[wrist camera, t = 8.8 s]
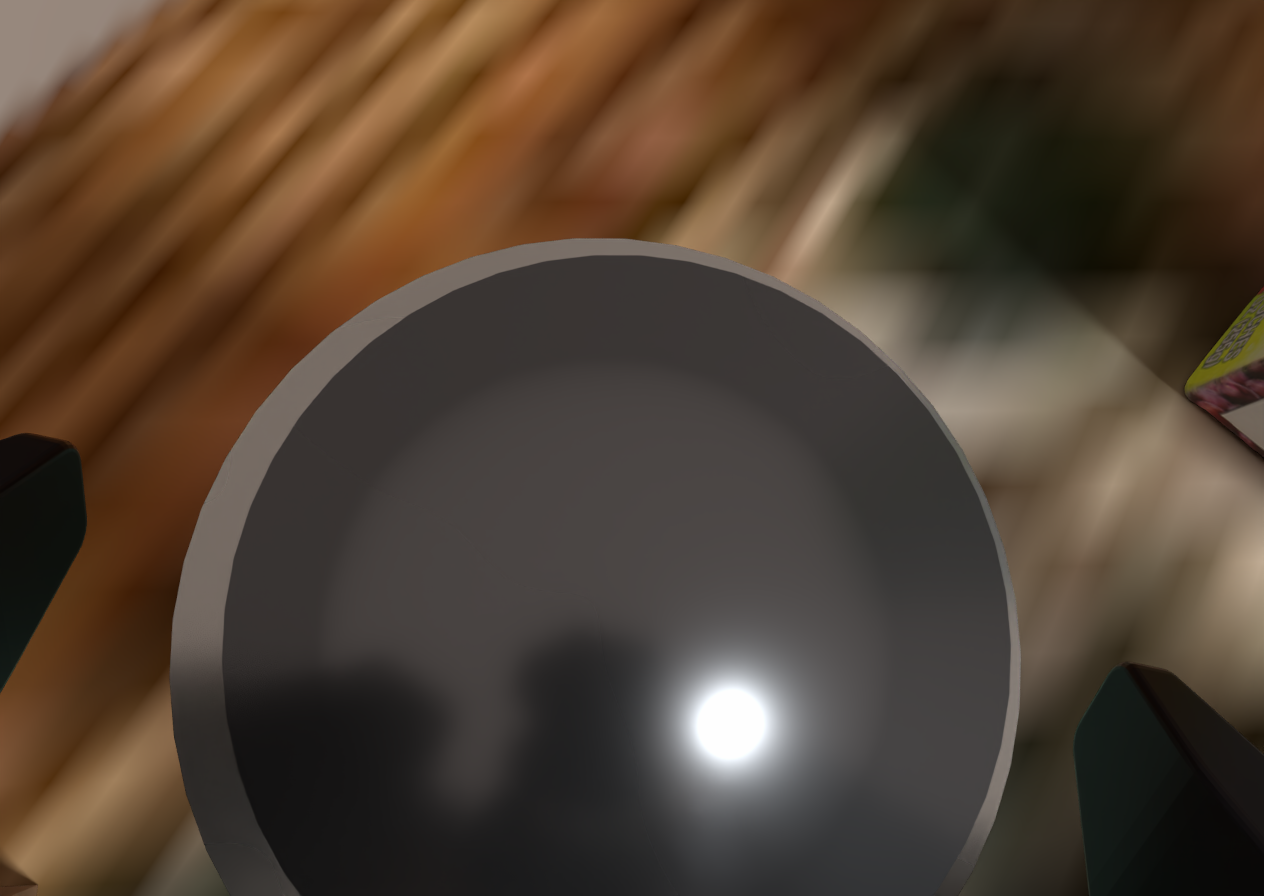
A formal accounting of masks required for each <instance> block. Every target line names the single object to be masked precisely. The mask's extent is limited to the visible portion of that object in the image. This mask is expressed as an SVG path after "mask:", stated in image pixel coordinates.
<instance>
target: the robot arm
mask: <svg viewBox="0 0 1264 896" xmlns="http://www.w3.org/2000/svg"><path fill="white" fill-rule="evenodd" d="M86 527H87V514H86V504H85V495H84V485H83V475H82V465H81V458H80V454H79V452H78V450H77V448H76V447H75V446H74V445H73V444H72V443H70V442H69V441H66V440H61V439H56V438H51V437H46V436H42V435H37V434H31V433H21V434H18V435H14V436H11V437H9V438H6V439H3V440H0V693H1V691H2V689H3V688H4V686H5V684H6V683H7V681H8V679H9V677H10V676H11V674H12V672H13V671H14V669H15V667H16V665H17V663H18V661H19V660H20V658H21V656H22V654H23V652H24V651H25V649H26V647H27V645H28V643H29V641H30V640H31V638H32V636H33V634H34V632H35V630H36V629H37V627H38V625H39V623H40V621H41V619H42V618H43V616H44V614H45V612H46V610H47V609H48V607H49V605H50V603H51V601H52V599H53V598H54V596H55V594H56V592H57V590H58V588H59V587H60V585H61V583H62V581H63V579H64V577H65V576H66V574H67V572H68V570H69V568H70V566H71V565H72V563H73V561H74V559H75V557H76V556H77V554H78V552H79V550H80V548H81V546H82V543H83V540H84V537H85V533H86ZM1073 756H1074V765H1075V774H1076V783H1077V792H1078V801H1079V810H1080V819H1081V828H1082V837H1083V846H1084V855H1085V864H1086V873H1087V882H1088V891H1089V896H1264V754H1263V753H1262V752H1261V751H1259V750H1258V749H1257V748H1256V747H1255V746H1254V745H1253V744H1252V743H1251V742H1249V741H1248V740H1247V739H1246V738H1245V737H1244V736H1243V735H1242V734H1240V733H1239V732H1238V731H1237V730H1236V729H1235V728H1234V727H1233V726H1232V725H1230V724H1229V723H1228V722H1227V721H1226V720H1225V719H1224V718H1223V717H1221V716H1220V715H1219V714H1218V713H1217V712H1216V711H1215V710H1214V709H1212V708H1211V707H1210V706H1209V705H1208V704H1207V703H1206V702H1205V701H1204V700H1202V699H1201V698H1200V697H1199V696H1198V695H1197V694H1196V693H1195V692H1193V691H1192V690H1191V689H1190V688H1189V687H1188V686H1187V685H1186V684H1185V683H1183V682H1182V681H1181V680H1180V679H1179V678H1178V677H1177V676H1176V675H1174V674H1173V673H1172V672H1170V671H1168V670H1165V669H1162V668H1157V667H1152V666H1148V665H1143V664H1138V663H1133V662H1122V663H1119V664H1117V665H1116V666H1115V667H1114V668H1112V670H1111V671H1110V672H1109V674H1108V675H1107V677H1106V679H1105V680H1104V682H1103V684H1102V685H1101V687H1100V689H1099V690H1098V692H1097V694H1096V695H1095V697H1094V699H1093V700H1092V702H1091V704H1090V705H1089V707H1088V709H1087V710H1086V712H1085V714H1084V715H1083V717H1082V719H1081V720H1080V722H1079V724H1078V726H1077V729H1076V732H1075V736H1074V743H1073Z"/></svg>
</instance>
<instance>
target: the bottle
mask: <svg viewBox="0 0 1264 896" xmlns="http://www.w3.org/2000/svg"><path fill="white" fill-rule="evenodd" d="M1020 670H1021V650H1020V640H1019V630H1018V619H1017V609H1016V599H1015V595H1014V590H1013V586H1012V581H1011V577H1010V573H1009V568H1008V564H1007V559H1006V555H1005V550H1004V546H1003V543H1002V541H1001V538H1000V535H999V532H998V529H997V527H996V524H995V521H994V518H993V515H992V513H991V510H990V507H989V504H988V501H987V499H986V496H985V494H984V492H983V490H982V488H981V486H980V484H979V482H978V480H977V478H976V476H975V474H974V472H973V470H972V468H971V466H970V464H969V462H968V460H967V458H966V456H965V454H964V452H963V450H962V449H961V447H960V446H959V444H958V443H957V441H956V440H955V438H954V437H953V435H952V434H951V432H950V431H949V429H948V428H947V426H946V425H945V423H944V422H943V420H942V419H941V417H940V416H939V414H938V413H937V411H936V410H935V408H934V407H933V405H932V404H931V403H930V402H929V400H928V399H927V398H926V397H925V396H924V395H923V393H922V392H921V391H920V390H919V389H918V388H917V387H916V385H915V384H914V383H913V382H912V381H911V380H910V378H909V377H908V376H907V375H906V374H905V373H904V371H903V370H902V369H901V368H900V367H899V366H898V365H897V364H896V363H895V362H894V361H893V360H892V359H891V358H890V357H889V356H887V355H886V354H885V353H884V352H883V351H882V350H881V349H880V348H879V347H878V346H876V345H875V344H874V343H873V342H872V341H871V340H870V339H869V338H868V337H867V336H865V335H864V334H863V333H862V332H861V331H860V330H858V329H857V328H856V327H854V326H853V325H851V324H850V323H849V322H847V321H846V320H844V319H843V318H842V317H840V316H839V315H837V314H836V313H834V312H833V311H832V310H830V309H829V308H827V307H826V306H825V305H823V304H822V303H820V302H819V301H817V300H815V299H814V298H812V297H810V296H808V295H806V294H804V293H803V292H801V291H799V290H797V289H795V288H793V287H791V286H790V285H788V284H786V283H784V282H782V281H780V280H778V279H777V278H775V277H773V276H770V275H768V274H765V273H763V272H760V271H757V270H755V269H752V268H750V267H747V266H745V265H742V264H740V263H737V262H734V261H732V260H729V259H727V258H724V257H720V256H716V255H712V254H708V253H704V252H700V251H696V250H692V249H688V248H684V247H681V246H677V245H670V244H662V243H654V242H646V241H638V240H631V239H566V240H557V241H549V242H540V243H532V244H524V245H519V246H515V247H511V248H507V249H503V250H499V251H495V252H491V253H487V254H482V255H478V256H474V257H471V258H468V259H466V260H463V261H460V262H458V263H455V264H453V265H450V266H447V267H445V268H442V269H440V270H437V271H434V272H432V273H429V274H427V275H424V276H422V277H420V278H418V279H416V280H414V281H412V282H410V283H409V284H407V285H405V286H403V287H401V288H399V289H397V290H395V291H394V292H392V293H390V294H388V295H386V296H384V297H382V298H381V299H379V300H377V301H375V302H374V303H372V304H371V305H369V306H368V307H367V308H365V309H364V310H362V311H361V312H360V313H358V314H357V315H355V316H354V317H353V318H351V319H350V320H348V321H347V322H345V323H344V324H343V325H341V326H340V327H338V328H337V329H336V330H334V331H333V332H332V333H330V334H329V335H328V336H327V337H326V338H325V339H324V340H323V341H322V342H321V343H319V344H318V345H317V346H316V347H315V348H314V349H313V350H312V351H311V352H310V353H309V354H307V355H306V356H305V357H304V358H303V359H302V360H301V361H300V362H299V363H298V364H297V365H295V366H294V367H293V368H292V369H291V370H290V372H289V373H288V374H287V375H286V376H285V378H284V379H283V380H282V381H281V382H280V383H279V385H278V386H277V387H276V388H275V389H274V391H273V392H272V393H271V394H270V395H269V396H268V398H267V399H266V400H265V401H264V402H263V404H262V405H261V406H260V407H259V408H258V409H257V411H256V412H255V414H254V415H253V417H252V418H251V420H250V421H249V423H248V424H247V426H246V428H245V429H244V431H243V432H242V434H241V435H240V437H239V438H238V440H237V441H236V443H235V444H234V446H233V448H232V449H231V451H230V452H229V454H228V455H227V457H226V459H225V461H224V463H223V465H222V467H221V469H220V471H219V473H218V475H217V477H216V479H215V482H214V484H213V486H212V488H211V490H210V492H209V494H208V496H207V498H206V500H205V502H204V504H203V506H202V509H201V512H200V515H199V518H198V521H197V524H196V527H195V530H194V533H193V536H192V539H191V542H190V545H189V548H188V551H187V554H186V557H185V560H184V564H183V569H182V574H181V579H180V585H179V590H178V595H177V600H176V606H175V611H174V616H173V626H172V643H171V661H170V690H171V704H172V717H173V730H174V739H175V743H176V748H177V753H178V758H179V762H180V767H181V772H182V776H183V781H184V786H185V791H186V795H187V798H188V800H189V803H190V806H191V809H192V812H193V814H194V817H195V820H196V823H197V825H198V828H199V831H200V834H201V837H202V839H203V842H204V845H205V848H206V850H207V852H208V854H209V856H210V858H211V860H212V862H213V864H214V866H215V868H216V870H217V871H218V873H219V875H220V877H221V879H222V881H223V883H224V885H225V887H226V889H227V890H228V892H229V894H230V896H958V895H959V893H960V891H961V890H962V888H963V886H964V885H965V883H966V881H967V880H968V878H969V876H970V875H971V873H972V871H973V869H974V867H975V864H976V862H977V860H978V857H979V855H980V853H981V851H982V848H983V846H984V844H985V841H986V839H987V837H988V835H989V832H990V830H991V828H992V825H993V823H994V821H995V818H996V814H997V811H998V807H999V804H1000V801H1001V797H1002V794H1003V790H1004V787H1005V783H1006V780H1007V776H1008V773H1009V770H1010V766H1011V760H1012V754H1013V747H1014V741H1015V735H1016V728H1017V722H1018V715H1019V704H1020Z"/></svg>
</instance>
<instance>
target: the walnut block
mask: <svg viewBox="0 0 1264 896" xmlns="http://www.w3.org/2000/svg"><path fill="white" fill-rule="evenodd" d="M37 888H38V885H24V886H5V887H0V896H37Z"/></svg>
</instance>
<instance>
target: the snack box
mask: <svg viewBox="0 0 1264 896" xmlns="http://www.w3.org/2000/svg"><path fill="white" fill-rule="evenodd" d="M1184 389H1185V394H1186V396H1187V397H1188V398H1189V400H1190V401H1192V402H1194V403H1195V404H1197V405H1199V406H1200V407H1202V408H1204V409H1205V410H1207V411H1208V412H1209V413H1210V414H1211V415H1213V416H1214V417H1215V418H1216V419H1217V420H1219V421H1220V422H1221V423H1222V424H1223V425H1225V426H1226V427H1227V428H1228V429H1230V430H1231V431H1232V432H1233V433H1235V434H1236V435H1237V436H1238V437H1240V438H1241V439H1242V440H1243V441H1245V442H1246V443H1247V444H1248V445H1249V446H1250V447H1251V448H1252V449H1254V450H1255V451H1257V452H1258V453H1259V454H1261V455H1262V456H1263V457H1264V287H1263V288H1262V289H1261V290H1260V291H1259V292H1258V294H1257V295H1256V296H1255V297H1254V298H1253V299H1252V301H1251V302H1250V303H1249V304H1248V305H1247V306H1246V308H1245V309H1244V310H1243V311H1242V312H1241V314H1240V315H1239V316H1238V317H1237V319H1236V320H1235V321H1234V322H1233V324H1232V325H1231V326H1230V327H1229V328H1228V330H1227V331H1226V332H1225V333H1224V335H1223V336H1222V337H1221V338H1220V339H1219V341H1218V342H1217V343H1216V344H1215V346H1214V347H1213V348H1212V349H1211V351H1210V352H1209V353H1208V354H1207V356H1206V357H1205V358H1204V359H1203V361H1202V362H1201V363H1200V365H1199V366H1198V367H1197V369H1196V370H1195V371H1194V372H1193V374H1192V375H1191V376H1190V378H1189V379H1188V381H1187V383H1186V385H1185V388H1184Z"/></svg>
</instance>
